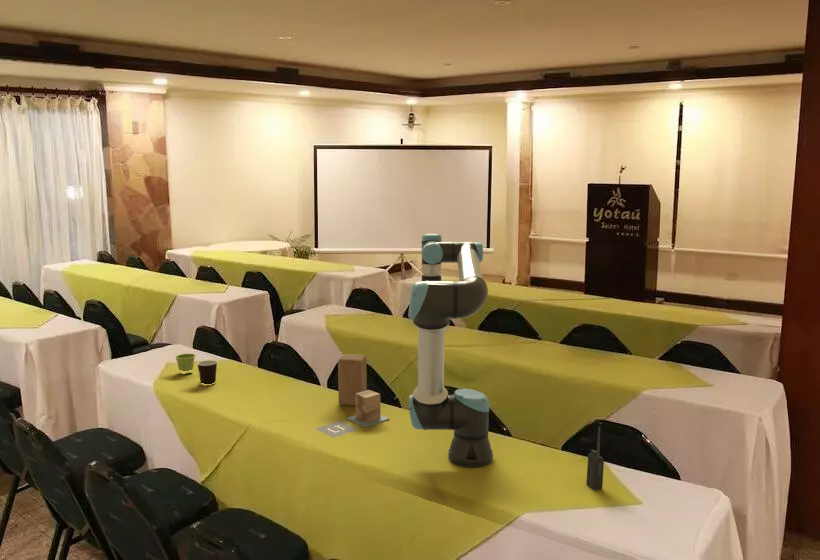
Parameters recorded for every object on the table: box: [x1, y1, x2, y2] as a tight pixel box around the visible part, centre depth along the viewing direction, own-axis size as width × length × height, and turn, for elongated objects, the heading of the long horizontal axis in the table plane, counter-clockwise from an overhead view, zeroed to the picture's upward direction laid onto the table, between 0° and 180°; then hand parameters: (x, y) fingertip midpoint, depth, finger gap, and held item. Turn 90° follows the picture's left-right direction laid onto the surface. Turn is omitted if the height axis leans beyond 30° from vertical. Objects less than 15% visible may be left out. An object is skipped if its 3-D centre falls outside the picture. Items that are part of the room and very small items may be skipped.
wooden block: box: [337, 353, 368, 407], centre depth 281 cm, size 10×10×20 cm
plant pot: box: [174, 353, 196, 371], centre depth 323 cm, size 9×9×9 cm
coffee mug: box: [196, 359, 218, 384], centre depth 308 cm, size 12×9×10 cm
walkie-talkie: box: [585, 426, 605, 491], centre depth 205 cm, size 5×3×20 cm
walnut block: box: [354, 389, 382, 423], centre depth 262 cm, size 7×7×10 cm
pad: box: [346, 414, 390, 428], centre depth 263 cm, size 12×12×1 cm
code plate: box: [314, 420, 360, 438], centre depth 253 cm, size 12×12×1 cm
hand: (431, 329), depth 257 cm, fingers open, 13 cm apart
